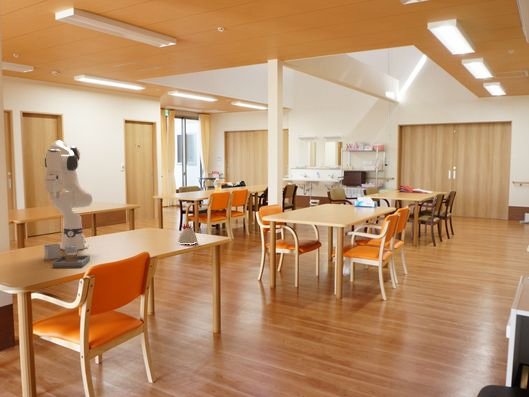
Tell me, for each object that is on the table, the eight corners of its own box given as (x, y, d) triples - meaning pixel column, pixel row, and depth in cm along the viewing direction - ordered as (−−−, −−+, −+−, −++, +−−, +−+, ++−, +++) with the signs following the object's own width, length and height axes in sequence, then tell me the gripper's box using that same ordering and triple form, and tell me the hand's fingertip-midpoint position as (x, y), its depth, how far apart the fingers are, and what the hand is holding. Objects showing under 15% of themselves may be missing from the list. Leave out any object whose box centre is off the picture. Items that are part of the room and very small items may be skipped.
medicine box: (57, 256, 287) (56, 243, 287) (60, 257, 285) (60, 244, 284) (44, 258, 281) (44, 244, 281) (47, 259, 278) (47, 245, 278)
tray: (62, 260, 276) (62, 255, 276) (89, 260, 278) (89, 255, 278) (52, 267, 258) (52, 262, 258) (81, 267, 260) (81, 262, 260)
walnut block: (68, 261, 270) (68, 253, 270) (77, 261, 271) (77, 252, 271) (66, 263, 265) (65, 254, 265) (75, 263, 266) (74, 254, 266)
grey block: (66, 258, 284) (66, 245, 283) (78, 258, 284) (78, 245, 284) (63, 260, 277) (62, 247, 276) (75, 260, 278) (75, 247, 277)
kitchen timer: (180, 241, 345) (180, 222, 344) (198, 242, 345) (198, 222, 344) (176, 245, 331) (176, 224, 330) (195, 245, 331) (195, 224, 330)
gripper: (54, 175, 284) (55, 197, 285) (43, 176, 264) (43, 200, 265) (65, 175, 285) (65, 197, 286) (54, 176, 265) (55, 200, 266)
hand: (55, 199), depth 275 cm, fingers open, 8 cm apart
